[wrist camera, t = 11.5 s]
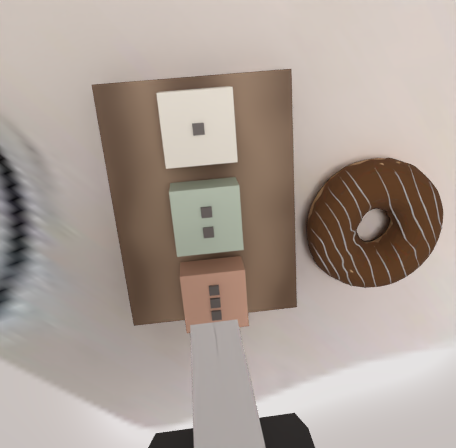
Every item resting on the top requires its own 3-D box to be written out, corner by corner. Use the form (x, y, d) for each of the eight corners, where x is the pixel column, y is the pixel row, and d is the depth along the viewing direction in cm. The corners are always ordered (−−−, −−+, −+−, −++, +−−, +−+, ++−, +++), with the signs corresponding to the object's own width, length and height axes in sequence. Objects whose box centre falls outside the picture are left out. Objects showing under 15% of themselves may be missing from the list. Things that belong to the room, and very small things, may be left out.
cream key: (167, 161, 28) (165, 169, 26) (159, 91, 27) (156, 93, 24) (233, 155, 28) (238, 162, 26) (228, 86, 27) (232, 87, 24)
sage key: (178, 243, 30) (176, 258, 28) (170, 183, 29) (168, 192, 26) (239, 237, 30) (243, 251, 28) (235, 177, 29) (239, 186, 26)
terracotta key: (186, 315, 32) (186, 334, 30) (180, 262, 31) (179, 278, 28) (244, 308, 32) (249, 327, 30) (240, 255, 31) (245, 271, 29)
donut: (439, 156, 33) (471, 166, 30) (411, 276, 37) (436, 298, 33) (309, 149, 32) (325, 158, 28) (293, 273, 36) (305, 296, 32)
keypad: (137, 309, 35) (130, 339, 31) (99, 84, 29) (85, 85, 25) (289, 292, 36) (302, 319, 32) (283, 69, 30) (298, 68, 26)
